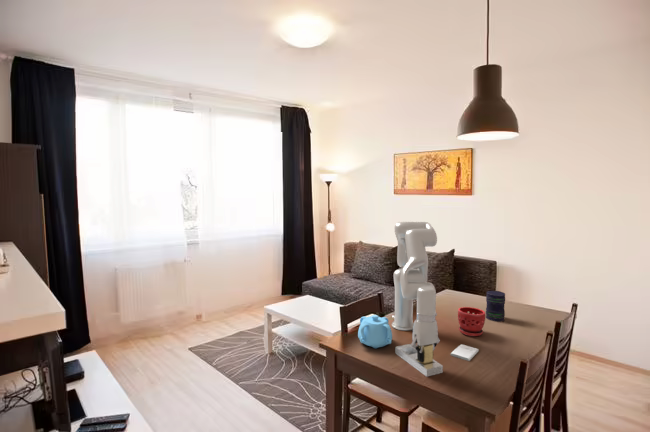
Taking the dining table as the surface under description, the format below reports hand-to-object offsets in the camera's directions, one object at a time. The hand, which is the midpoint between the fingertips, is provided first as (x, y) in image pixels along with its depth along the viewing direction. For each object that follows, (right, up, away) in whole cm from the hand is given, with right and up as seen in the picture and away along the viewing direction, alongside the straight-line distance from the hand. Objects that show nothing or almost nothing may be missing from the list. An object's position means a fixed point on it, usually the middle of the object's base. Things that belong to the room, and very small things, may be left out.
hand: (425, 359), depth 149 cm
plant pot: (+34, -1, +36) cm, 49 cm away
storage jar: (+56, +1, +56) cm, 79 cm away
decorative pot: (-18, -2, +24) cm, 30 cm away
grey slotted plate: (-2, -3, +5) cm, 6 cm away
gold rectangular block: (0, -2, 0) cm, 2 cm away
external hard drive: (+22, -3, +13) cm, 26 cm away
